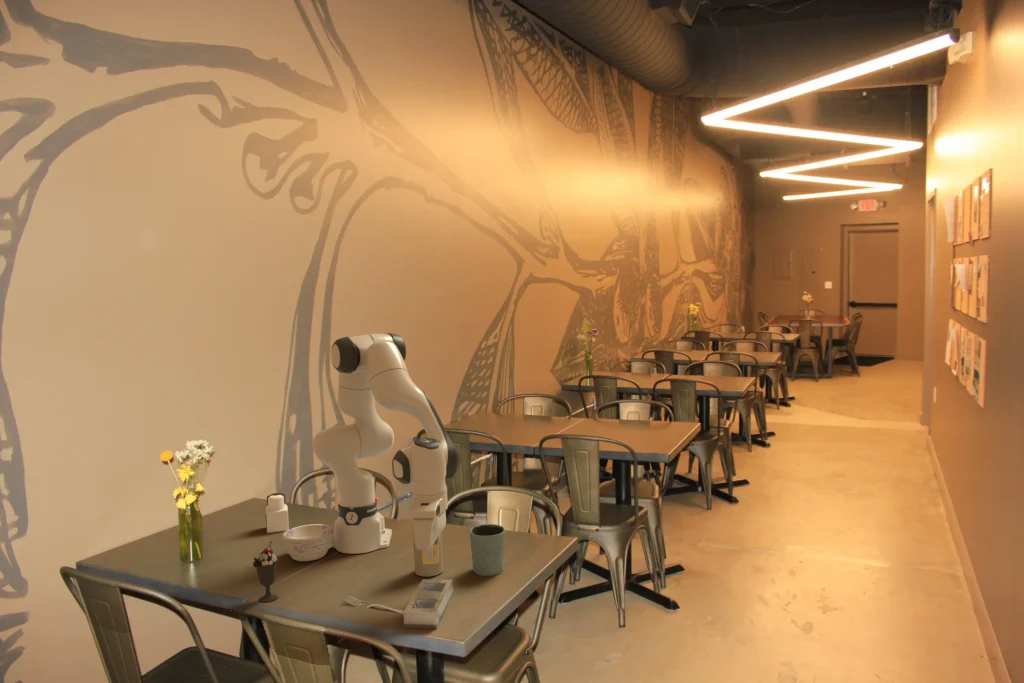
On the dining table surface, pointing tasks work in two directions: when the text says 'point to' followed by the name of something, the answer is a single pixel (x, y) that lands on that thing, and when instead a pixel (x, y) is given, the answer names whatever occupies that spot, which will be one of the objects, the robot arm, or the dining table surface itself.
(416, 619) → the tan windowed box
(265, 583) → the sundae
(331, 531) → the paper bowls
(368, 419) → the robot arm
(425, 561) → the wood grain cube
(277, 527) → the medicine bottle
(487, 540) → the green cup
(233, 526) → the dining table surface
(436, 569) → the travel mug
